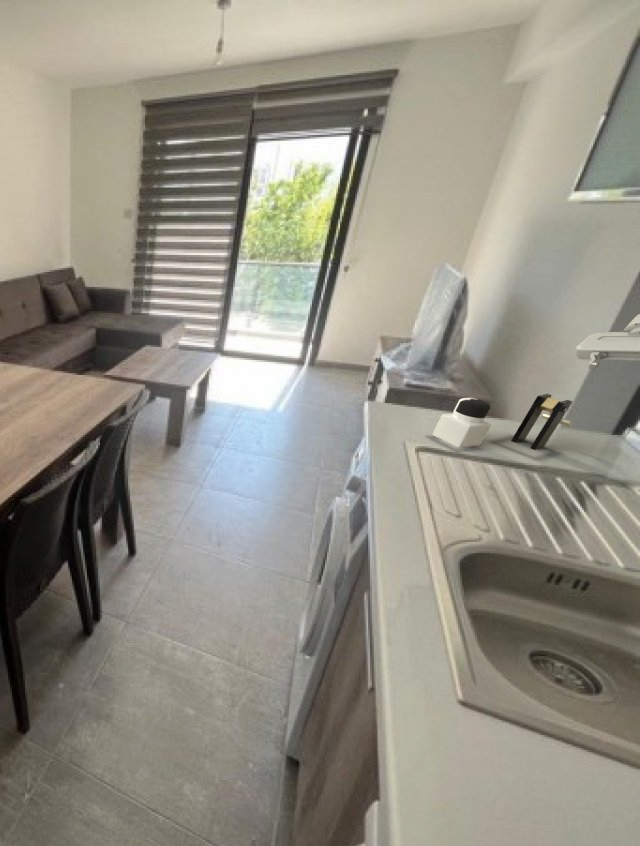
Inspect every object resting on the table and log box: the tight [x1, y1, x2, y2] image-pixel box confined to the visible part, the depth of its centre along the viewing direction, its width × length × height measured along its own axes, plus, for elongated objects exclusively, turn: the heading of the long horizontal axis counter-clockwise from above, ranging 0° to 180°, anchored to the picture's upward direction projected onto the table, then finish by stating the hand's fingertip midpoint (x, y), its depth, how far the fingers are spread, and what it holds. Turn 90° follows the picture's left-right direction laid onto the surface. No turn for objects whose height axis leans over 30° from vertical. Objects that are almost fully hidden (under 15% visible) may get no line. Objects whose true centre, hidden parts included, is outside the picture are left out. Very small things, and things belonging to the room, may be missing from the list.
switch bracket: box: [510, 393, 573, 451], centre depth 118 cm, size 10×9×14 cm
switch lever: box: [541, 397, 573, 427], centre depth 118 cm, size 12×6×2 cm
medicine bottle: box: [432, 397, 492, 448], centre depth 119 cm, size 7×7×12 cm
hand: (619, 367), depth 117 cm, fingers open, 8 cm apart
